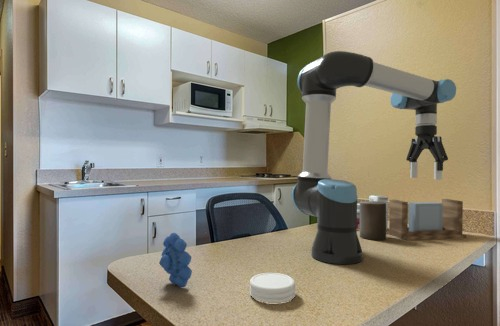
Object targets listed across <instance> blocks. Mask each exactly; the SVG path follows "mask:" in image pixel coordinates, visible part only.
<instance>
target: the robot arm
mask: <svg viewBox="0 0 500 326" xmlns="http://www.w3.org/2000/svg"><path fill="white" fill-rule="evenodd" d="M296 81H297V88H298V90H299V91H300V93H301V100H302V101H303V102H304V103H305V117H304V119H305V120H304V133H303V134H304V137H303V156H302V157H303V159H302V171H301V172H300V173H299V174H298V175H297V183H296V184H295V185H294V186H293V187H292V190H291V202H292V204H293V206H294V207H295V208H296V209H297V210H298V211H299V212H301V213H303V214H305V215H307V216H312V217H316V219H317V220H316V221H317V224H316V225H317V227H316V228H317V232H316V233H315V237H314V239H313V243H312V246H311V257H312V258H313V259H315V260H316V261H320V262H324V263H328V264H334V265H335V264H336V265H354V264H357V263H358V264H359V263H360V262H362V261H363V259H364V258H363V256H364V255H363V249H362V246H361V243H360V240H359V237H358V233H357V204H358V190H357V186H356V185H355V184H354V183H353V182H351V181H347V180H342V179H341V180H340V179H333V177H332V176H331V175H330V174H329V172H328V171H329V169H328V167H329V150H330V147H329V146H330V132H331V131H330V130H331V114H332V113H331V108H332V107H331V106H332V103H333V102H335V100H336V99H337V98H336V97H337V90H338V89H339V88H345V87H355V88H363V87H367V88H368V87H369V88H373V89H376V90H381V91H384V92H387V93H391V95H390V106H392V107H393V108H395V109H399V110H411V111H412V110H414V111H415V120H414V121H415V122H414V124H415V127H414V129H415V133H414V134H415V136H416V137H417V138H412V139H411V144H410V147H409V150H408V153H407V155H406V159H405V160H406V161H408V162H409V169H410V174H409V175H410V179H412V178H415V179H417V178H418V164H419V163H418V162H419V161H417V160H418V159H419V157H420V155H421V154H422V152H423V151H424V150H429V152H430V153H431V155H432V157H433V158H434V162H433V163H434V166H433V169H434V171H433V180H440V181H441V180H443V170H444V162H445V161H448V160H449V157H448V155H447V152H446V149H445V147H444V144H443V141H442V136H440V135H438V136H437V133H438V132H437V131H438V127H437V124H438V121H437V120H438V104H444V103H445V102H450V101H452V100H453V99H454V98H455V97H456V94H457V86H456V83H455V82H454V81H453V80H452V79H449V78H446V79H440V80H435V79H434V80H433V79H431V78H428V77H427V78H426V77H424V76H420V75H418V74H415V73H411V72H408V71H403V70H402V69H398V68H395V67H392V66H388V65H384V64H382V63H378V62H374V60H373V58H372V57H370V56H367V55H364V54H360V53H355V52H351V51H345V50H344V51H343V50H338V51H337V50H335V51H334V50H333V51H330V52H327V53H325V54H324V55H322V56H321V57H319V58H317V59H315V60H313V61H311V62H309V63H307V64H306V65H305V66H304V67H303V68H302V69H301V70H300V71H299V74H298V76H297V80H296Z"/></svg>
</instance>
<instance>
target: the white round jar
mask: <svg viewBox="0 0 500 326" xmlns="http://www.w3.org/2000/svg"><path fill="white" fill-rule="evenodd" d="M250 295H251V296H252V297H253V298H255V299H257V300H260V301H263V302H268V303H281V302H287V301H290V300H292V299H293V298H294V297H296V281H295V280H294V278H293V277H291V276H289V275H287V274H285V273H284V274H283V273H278V272H263V273H258V274H255V275H253V276H252V277H251V278H250V280H249V296H250ZM251 296H250V297H251ZM294 299H295V298H294ZM294 299H293V300H294ZM293 300H292V301H293ZM290 302H291V301H290Z"/></svg>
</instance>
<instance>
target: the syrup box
mask: <svg viewBox="0 0 500 326" xmlns="http://www.w3.org/2000/svg"><path fill="white" fill-rule="evenodd" d="M368 198H369V199H368V201H378V202H385V203H386V231H388V229H389V228H388V225H389V223H388V222H389V215H388V214H389V196H382V195H377V194H374V195H373V194H372V195H369V197H368Z"/></svg>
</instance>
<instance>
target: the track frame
mask: <svg viewBox="0 0 500 326" xmlns="http://www.w3.org/2000/svg"><path fill="white" fill-rule="evenodd" d="M441 203H443V227H442V230H434V231H409V202H408V201H405V200H398V199H389V208H388V214H389V215H388V222H389V223H388V225H389V228H388V229H389V230H386V234H387V235H391V236H394V237H396V238H398V239H401V240H404V241H419V240H420V241H421V240H423V241H424V240H441V239H442V240H443V239H444V240H446V239H467V235H466V234H463V223H464V222H463V217H464V216H463V214H464V212H463V210H464V209H463V208H464V207H463V206H464V205H463V200H458V199H457V200H456V199H449V198H442V199H441Z"/></svg>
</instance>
